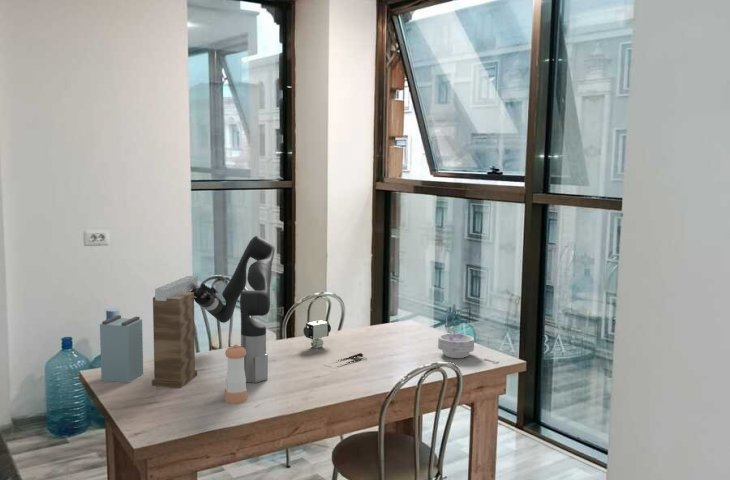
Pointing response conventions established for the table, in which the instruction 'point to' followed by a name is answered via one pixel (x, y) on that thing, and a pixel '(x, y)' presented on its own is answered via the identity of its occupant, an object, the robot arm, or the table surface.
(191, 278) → the steel bar
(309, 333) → the pneumatic valve
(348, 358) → the hacksaw
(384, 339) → the table surface
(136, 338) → the blue grey angular block
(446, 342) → the grey stone bowl
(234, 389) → the pepper shaker
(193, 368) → the tall stand
